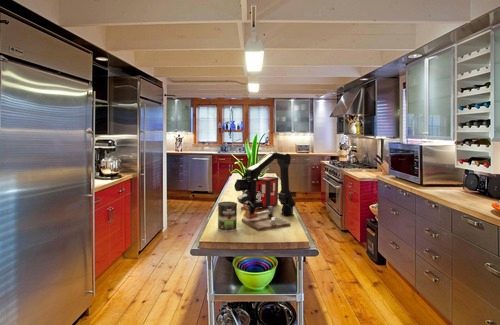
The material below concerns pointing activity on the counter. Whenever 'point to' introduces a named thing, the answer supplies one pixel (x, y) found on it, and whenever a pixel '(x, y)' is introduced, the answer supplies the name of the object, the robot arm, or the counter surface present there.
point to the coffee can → (227, 216)
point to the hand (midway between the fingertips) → (251, 215)
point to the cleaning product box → (268, 191)
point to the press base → (265, 222)
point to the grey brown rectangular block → (273, 221)
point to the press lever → (261, 213)
